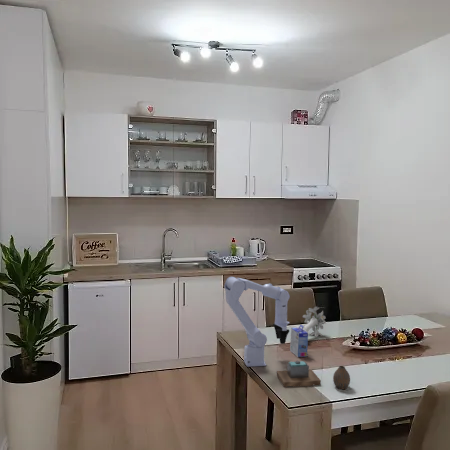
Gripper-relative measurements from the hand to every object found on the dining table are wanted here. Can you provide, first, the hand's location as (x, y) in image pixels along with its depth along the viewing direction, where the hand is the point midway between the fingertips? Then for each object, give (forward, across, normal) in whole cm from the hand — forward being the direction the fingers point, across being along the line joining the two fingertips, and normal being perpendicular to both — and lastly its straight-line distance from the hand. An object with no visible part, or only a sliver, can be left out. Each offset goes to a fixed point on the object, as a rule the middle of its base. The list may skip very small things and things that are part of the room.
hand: (280, 340), depth 216 cm
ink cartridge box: (+10, +7, -11) cm, 17 cm away
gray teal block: (+7, -24, -2) cm, 25 cm away
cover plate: (+3, -24, -2) cm, 24 cm away
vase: (+10, -32, -18) cm, 39 cm away
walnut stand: (+9, -24, -2) cm, 26 cm away
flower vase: (+10, +31, -24) cm, 40 cm away
